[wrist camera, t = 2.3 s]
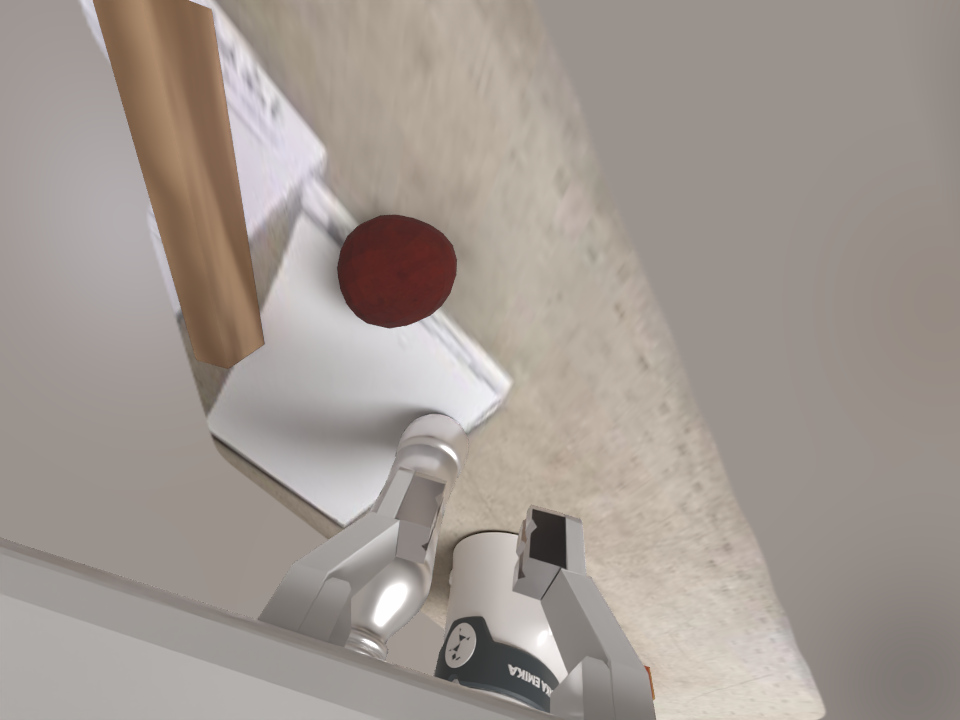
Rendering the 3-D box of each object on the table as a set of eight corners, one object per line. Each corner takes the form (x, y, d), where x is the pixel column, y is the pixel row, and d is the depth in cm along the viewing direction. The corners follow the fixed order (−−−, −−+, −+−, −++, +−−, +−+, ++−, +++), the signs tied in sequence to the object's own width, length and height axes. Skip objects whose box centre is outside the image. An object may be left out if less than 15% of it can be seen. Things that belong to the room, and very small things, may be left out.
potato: (484, 281, 27) (463, 318, 21) (395, 317, 30) (356, 359, 25) (438, 184, 24) (400, 197, 19) (345, 235, 27) (287, 260, 22)
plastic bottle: (398, 411, 36) (258, 648, 19) (459, 398, 34) (360, 654, 17) (425, 457, 39) (324, 699, 22) (483, 448, 36) (419, 711, 20)
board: (211, 9, 22) (138, -20, 18) (264, 344, 35) (228, 368, 31) (166, -1, 22) (83, -32, 18) (235, 336, 35) (196, 360, 31)
